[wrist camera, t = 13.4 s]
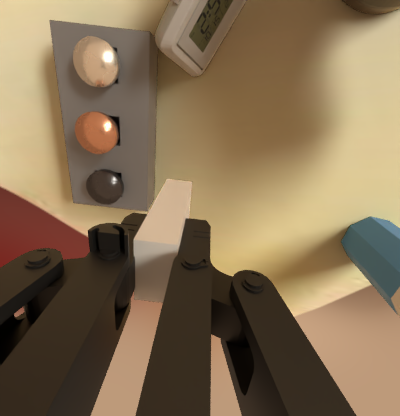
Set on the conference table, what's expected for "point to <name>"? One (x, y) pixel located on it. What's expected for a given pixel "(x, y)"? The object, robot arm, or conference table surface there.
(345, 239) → the water bottle
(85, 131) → the plunger terracotta
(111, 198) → the plunger black
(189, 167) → the conference table surface
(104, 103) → the panel
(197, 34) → the digital clock
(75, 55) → the plunger ivory
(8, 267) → the robot arm
